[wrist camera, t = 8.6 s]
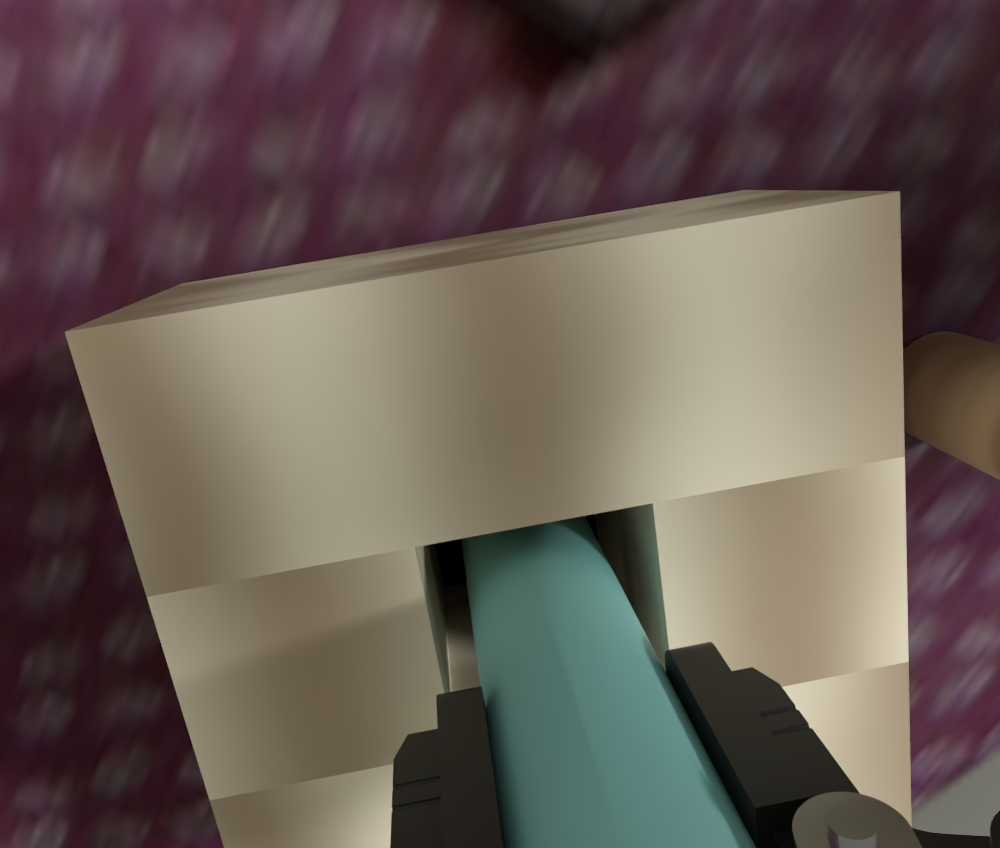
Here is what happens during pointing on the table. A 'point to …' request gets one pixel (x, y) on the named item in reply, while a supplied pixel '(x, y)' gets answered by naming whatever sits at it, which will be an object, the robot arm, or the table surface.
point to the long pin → (583, 704)
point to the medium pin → (954, 397)
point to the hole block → (513, 477)
